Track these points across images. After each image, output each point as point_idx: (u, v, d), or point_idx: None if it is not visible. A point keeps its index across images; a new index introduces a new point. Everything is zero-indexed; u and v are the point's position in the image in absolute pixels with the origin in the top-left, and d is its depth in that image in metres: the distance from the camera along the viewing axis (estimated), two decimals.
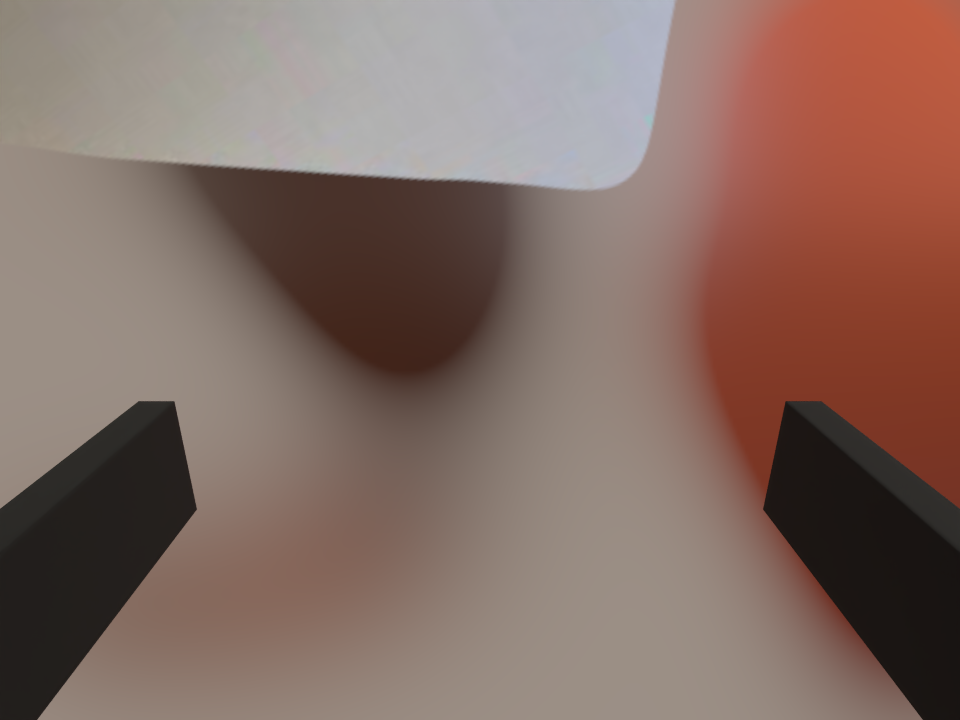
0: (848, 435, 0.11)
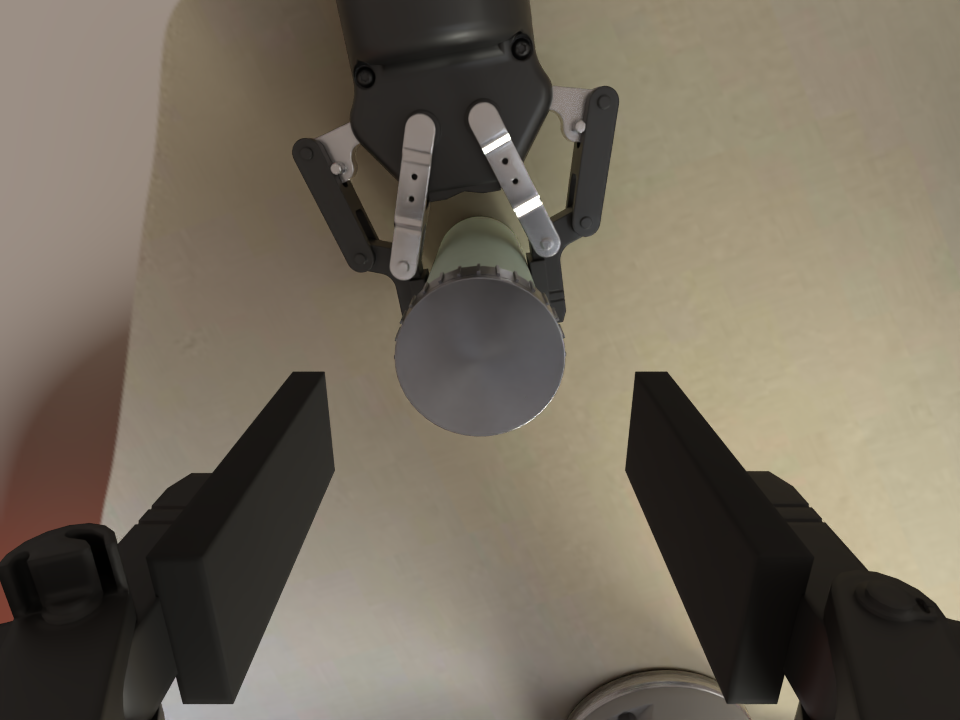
0: (673, 398, 0.12)
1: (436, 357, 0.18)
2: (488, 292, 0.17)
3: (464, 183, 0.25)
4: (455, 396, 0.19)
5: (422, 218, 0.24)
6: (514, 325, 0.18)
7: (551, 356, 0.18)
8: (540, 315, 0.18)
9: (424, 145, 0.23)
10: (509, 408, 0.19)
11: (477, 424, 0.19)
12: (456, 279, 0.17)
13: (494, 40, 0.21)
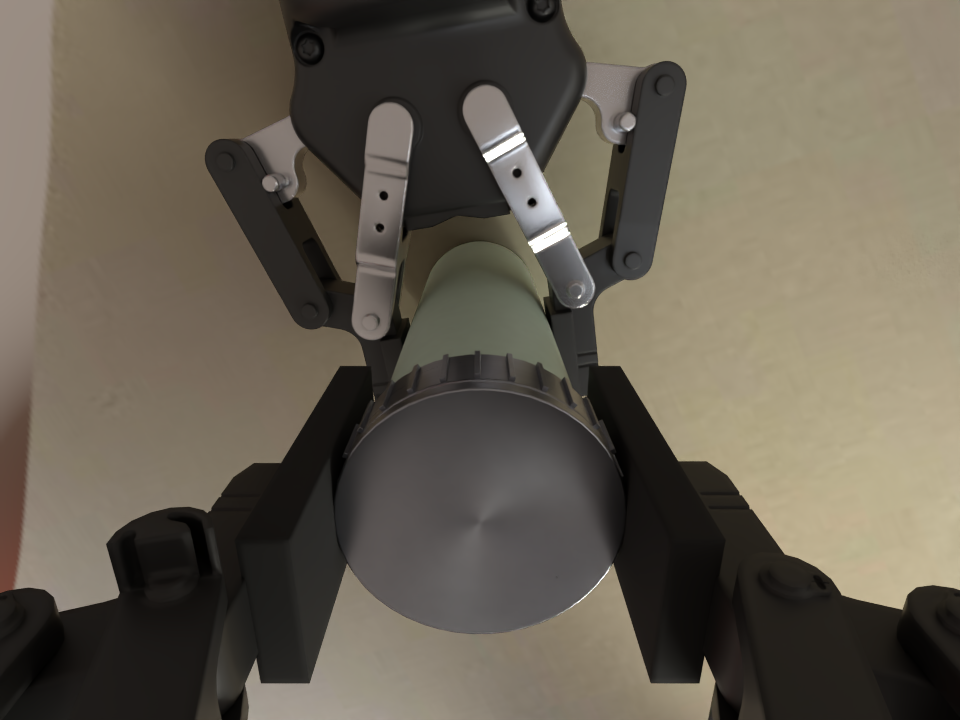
0: (621, 391, 0.13)
1: (405, 517, 0.11)
2: (495, 413, 0.10)
3: (457, 204, 0.17)
4: (438, 576, 0.11)
5: (396, 255, 0.17)
6: (540, 467, 0.10)
7: (603, 515, 0.11)
8: (586, 451, 0.10)
9: (397, 149, 0.16)
10: (529, 593, 0.11)
11: (475, 617, 0.11)
12: (438, 390, 0.10)
13: None
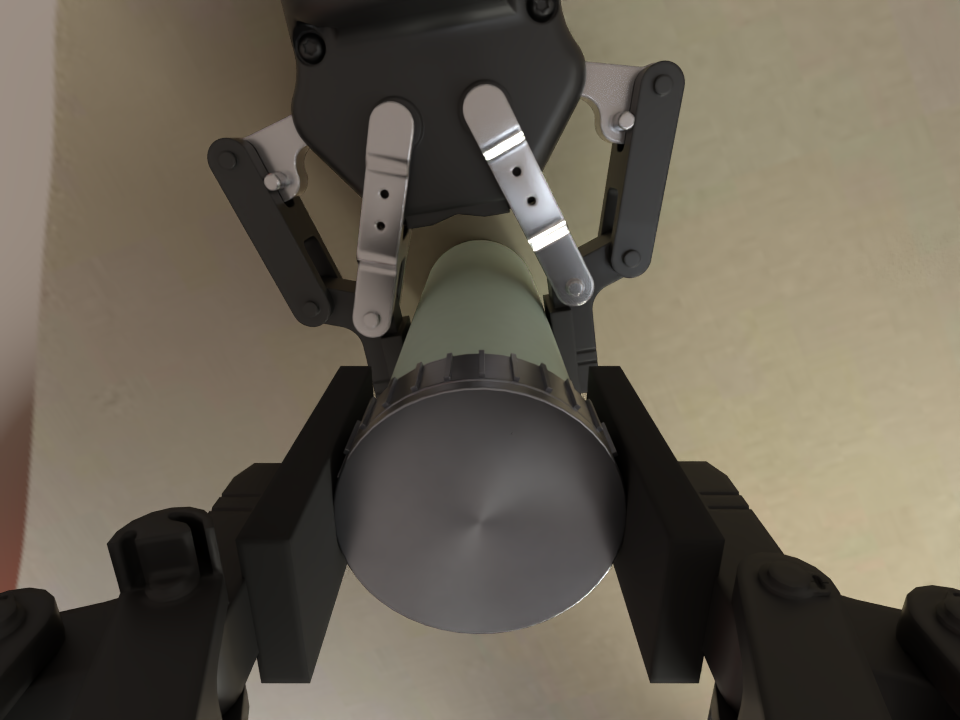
0: (621, 391, 0.13)
1: (503, 579, 0.11)
2: (366, 552, 0.11)
3: (457, 203, 0.17)
4: (558, 533, 0.11)
5: (397, 253, 0.17)
6: (396, 500, 0.10)
7: (417, 425, 0.10)
8: (359, 472, 0.10)
9: (398, 148, 0.16)
10: (544, 448, 0.10)
11: (596, 483, 0.10)
12: None
13: None
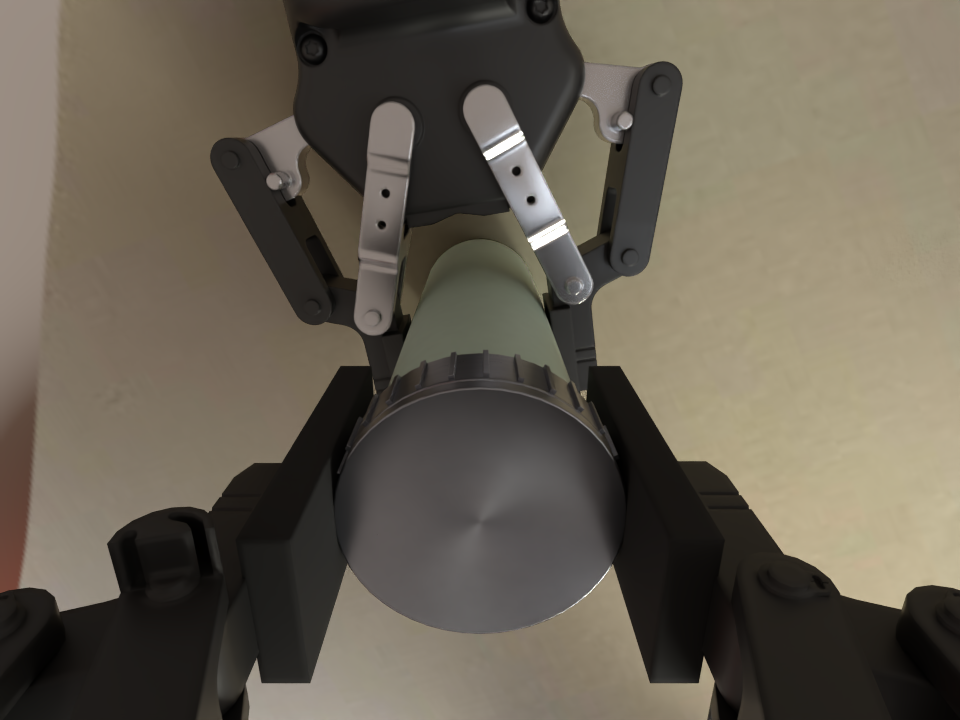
0: (620, 391, 0.13)
1: (537, 478, 0.10)
2: (557, 594, 0.11)
3: (457, 202, 0.17)
4: (458, 455, 0.10)
5: (398, 252, 0.17)
6: (489, 590, 0.11)
7: (408, 599, 0.11)
8: (474, 622, 0.11)
9: (399, 148, 0.16)
10: (376, 504, 0.10)
11: (387, 448, 0.10)
12: None
13: None
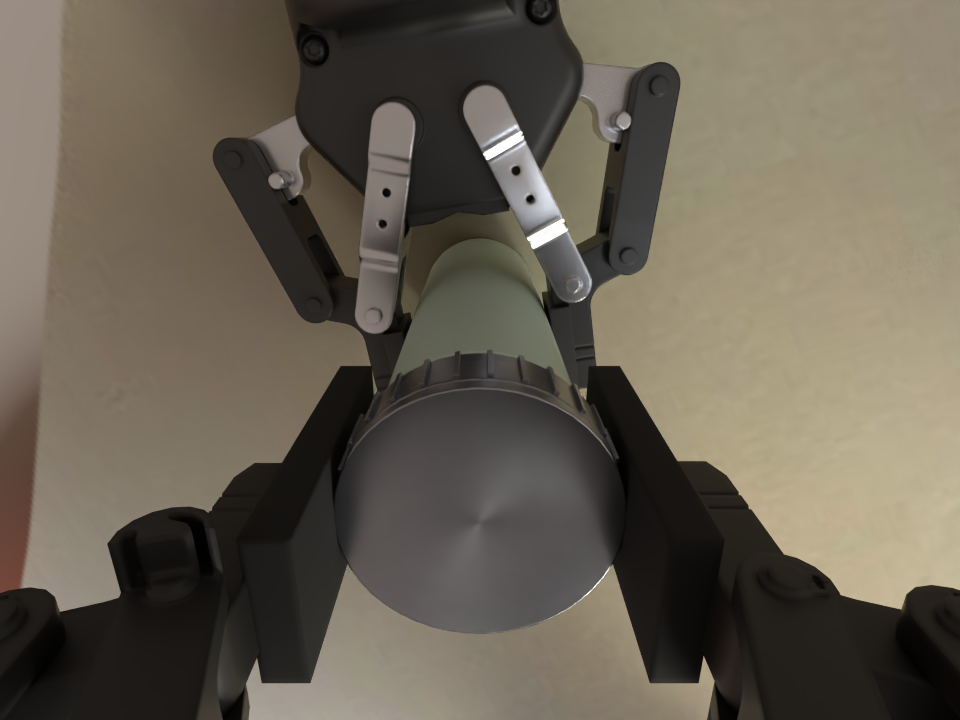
0: (620, 391, 0.13)
1: (409, 497, 0.10)
2: (534, 422, 0.10)
3: (458, 201, 0.17)
4: (420, 562, 0.11)
5: (398, 250, 0.17)
6: (557, 484, 0.10)
7: (597, 546, 0.11)
8: (605, 481, 0.10)
9: (399, 148, 0.16)
10: (501, 602, 0.11)
11: (441, 611, 0.11)
12: (486, 384, 0.10)
13: None
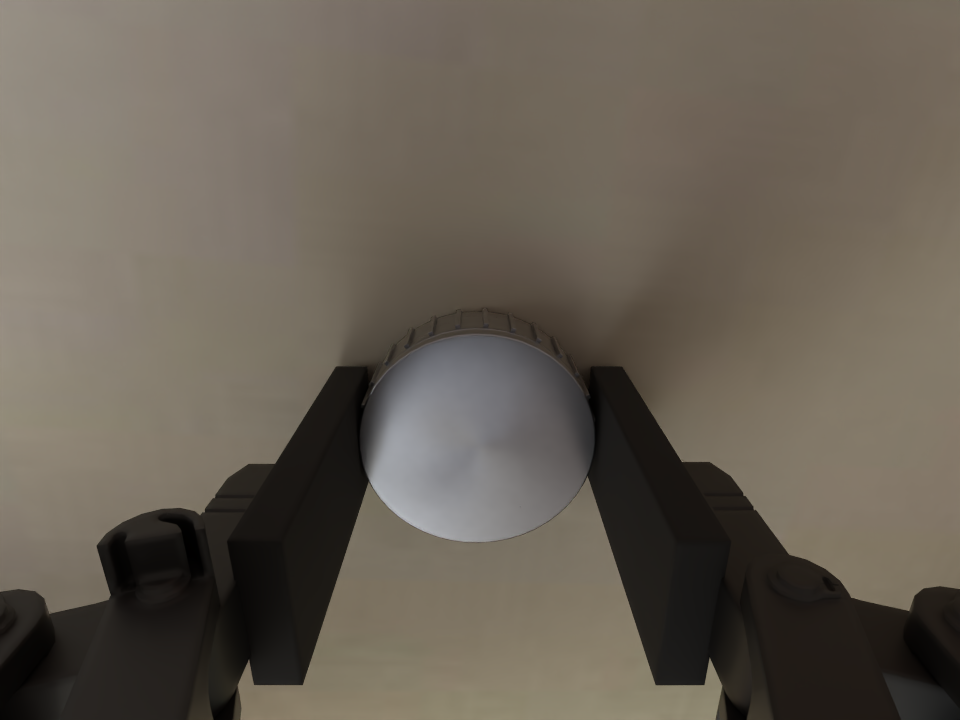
0: (624, 392, 0.13)
1: (420, 425, 0.13)
2: (520, 362, 0.12)
3: None
4: (428, 481, 0.13)
5: None
6: (539, 414, 0.13)
7: (572, 466, 0.13)
8: (577, 411, 0.13)
9: None
10: (494, 514, 0.14)
11: (445, 523, 0.14)
12: (482, 331, 0.12)
13: None
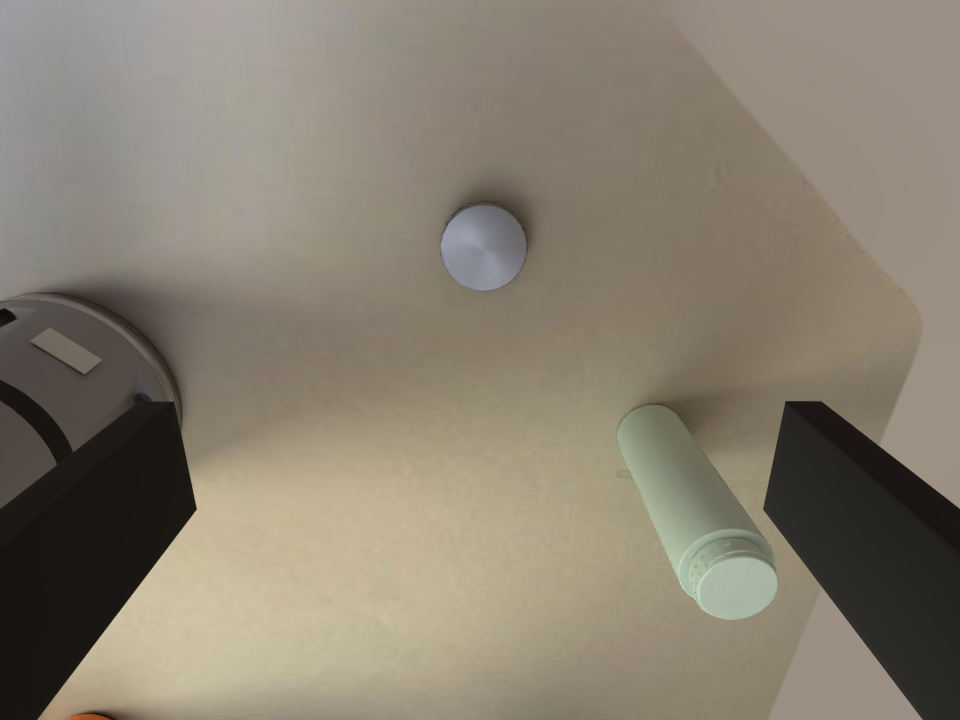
0: (848, 435, 0.11)
1: (463, 240, 0.36)
2: (498, 215, 0.35)
3: None
4: (465, 263, 0.36)
5: None
6: (506, 236, 0.36)
7: (518, 257, 0.36)
8: (519, 235, 0.36)
9: None
10: (490, 278, 0.37)
11: (471, 282, 0.37)
12: (485, 204, 0.35)
13: None
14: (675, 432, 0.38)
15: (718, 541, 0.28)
